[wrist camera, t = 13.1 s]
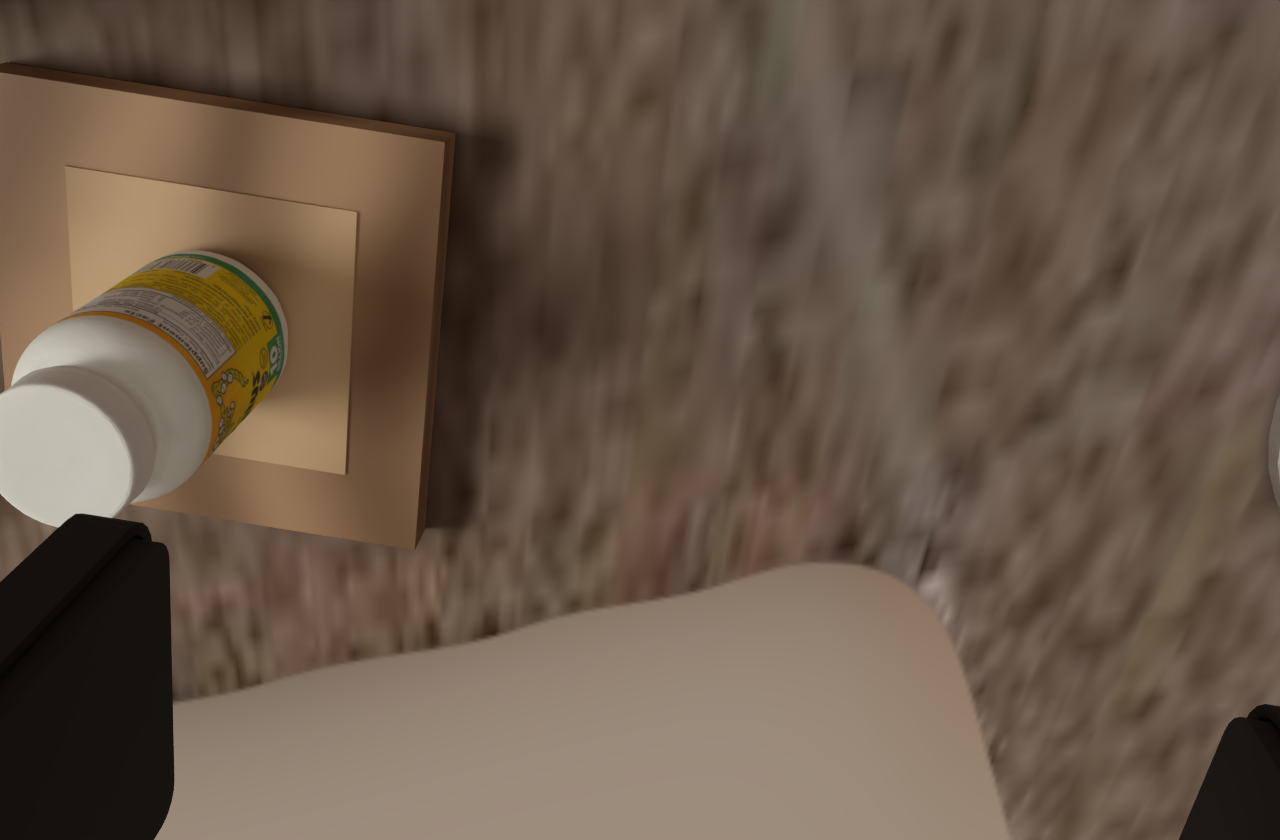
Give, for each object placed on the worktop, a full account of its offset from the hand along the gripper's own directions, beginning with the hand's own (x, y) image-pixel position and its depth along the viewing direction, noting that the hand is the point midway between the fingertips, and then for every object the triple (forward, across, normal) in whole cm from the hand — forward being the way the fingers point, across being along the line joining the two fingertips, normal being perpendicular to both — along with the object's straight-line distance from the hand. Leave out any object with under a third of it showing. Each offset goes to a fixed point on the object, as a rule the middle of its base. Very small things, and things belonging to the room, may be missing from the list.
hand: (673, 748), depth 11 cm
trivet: (+28, +15, +8) cm, 33 cm away
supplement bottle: (+27, +15, +8) cm, 32 cm away
